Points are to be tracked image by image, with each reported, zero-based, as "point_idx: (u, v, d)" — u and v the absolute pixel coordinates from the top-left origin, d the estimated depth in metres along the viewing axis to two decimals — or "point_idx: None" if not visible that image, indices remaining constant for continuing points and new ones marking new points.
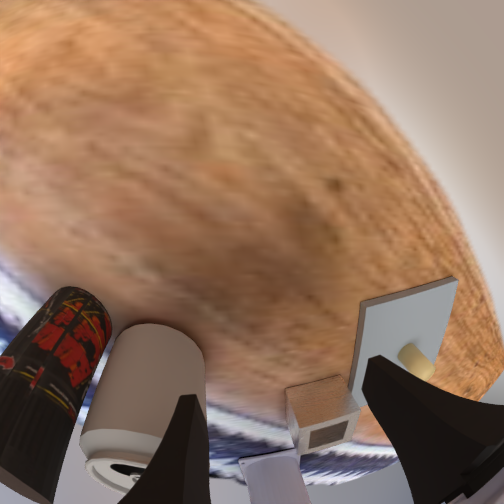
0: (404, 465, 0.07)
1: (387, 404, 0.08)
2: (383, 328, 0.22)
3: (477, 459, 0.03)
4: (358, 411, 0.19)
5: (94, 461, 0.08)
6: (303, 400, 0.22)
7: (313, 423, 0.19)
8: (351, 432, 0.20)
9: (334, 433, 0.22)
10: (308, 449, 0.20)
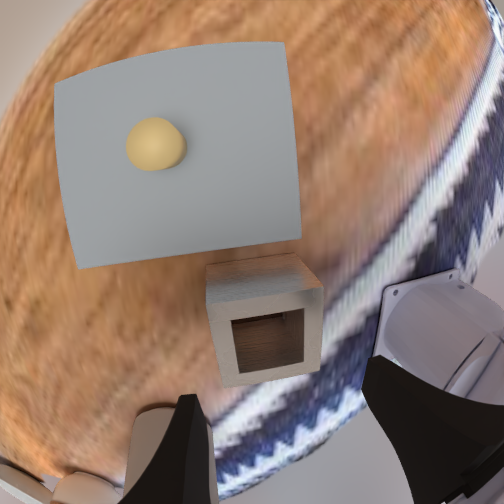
0: (405, 465, 0.07)
1: (387, 404, 0.08)
2: (107, 228, 0.14)
3: (477, 459, 0.03)
4: (209, 308, 0.12)
5: None
6: None
7: (220, 371, 0.14)
8: (287, 297, 0.13)
9: None
10: (303, 361, 0.14)
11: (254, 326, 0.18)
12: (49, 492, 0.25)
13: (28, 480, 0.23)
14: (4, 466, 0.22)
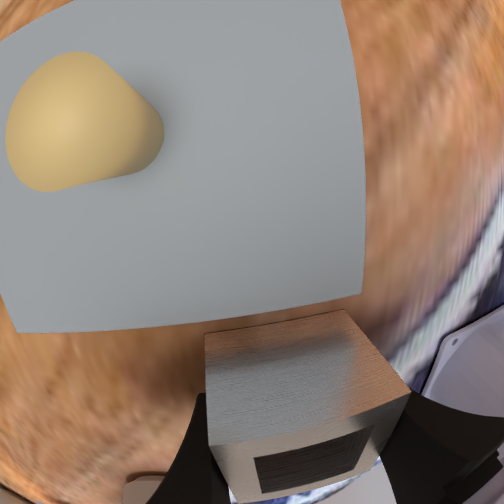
0: (389, 472, 0.07)
1: None
2: (41, 279, 0.07)
3: (459, 472, 0.03)
4: (215, 448, 0.05)
5: None
6: None
7: (233, 493, 0.07)
8: (354, 420, 0.06)
9: None
10: (353, 469, 0.07)
11: None
12: None
13: None
14: None
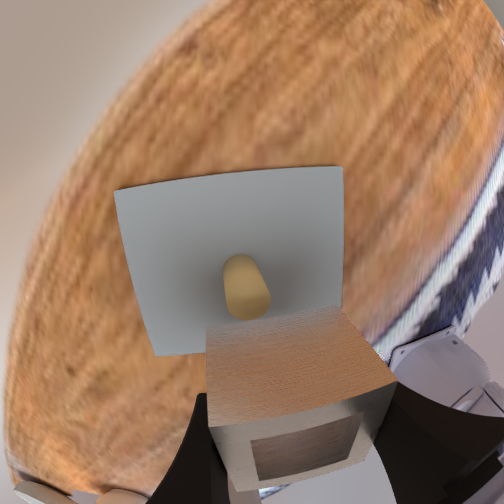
0: (389, 472, 0.07)
1: None
2: (184, 329, 0.18)
3: (459, 472, 0.03)
4: (214, 430, 0.06)
5: None
6: None
7: (231, 480, 0.08)
8: (344, 405, 0.07)
9: None
10: (347, 458, 0.08)
11: None
12: None
13: (57, 496, 0.27)
14: (32, 483, 0.25)
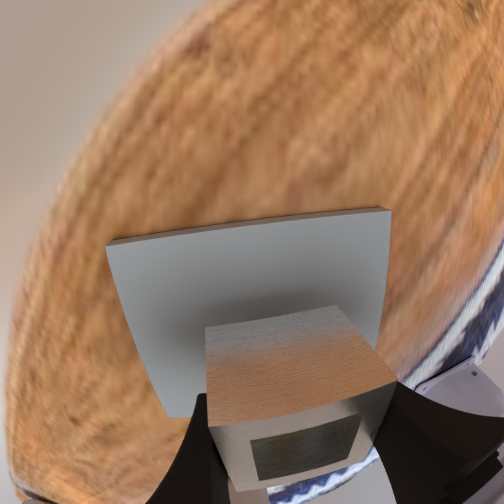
0: (389, 472, 0.07)
1: None
2: None
3: (459, 472, 0.03)
4: (214, 430, 0.06)
5: None
6: None
7: (231, 480, 0.08)
8: (343, 405, 0.07)
9: None
10: (346, 458, 0.08)
11: None
12: None
13: None
14: (38, 502, 0.22)
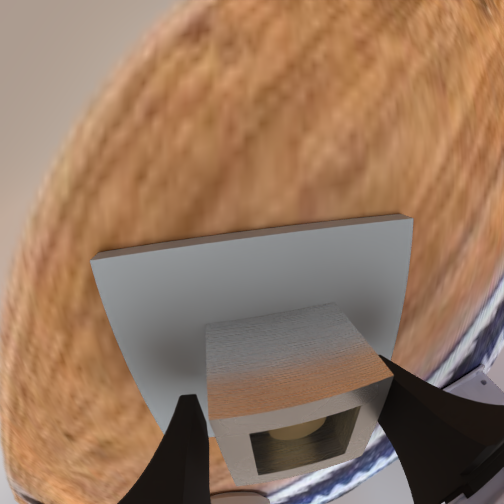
0: (404, 465, 0.07)
1: (387, 404, 0.08)
2: None
3: (477, 459, 0.03)
4: (214, 423, 0.06)
5: None
6: None
7: (231, 474, 0.08)
8: (340, 399, 0.07)
9: None
10: (344, 453, 0.08)
11: None
12: None
13: None
14: None
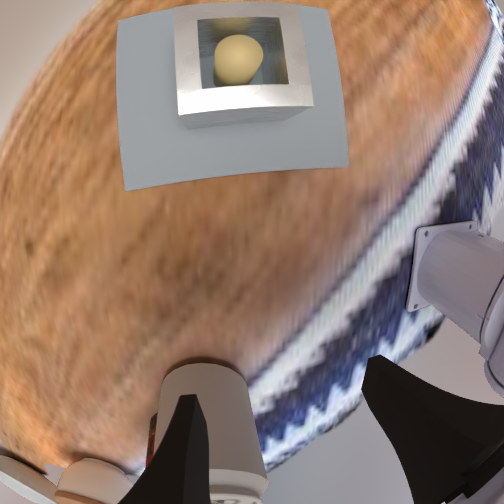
0: (405, 465, 0.07)
1: (387, 404, 0.08)
2: (165, 146, 0.14)
3: (477, 459, 0.03)
4: (176, 10, 0.08)
5: None
6: None
7: (177, 88, 0.09)
8: (259, 5, 0.08)
9: (275, 35, 0.10)
10: (288, 84, 0.10)
11: None
12: (52, 485, 0.26)
13: (30, 472, 0.23)
14: (4, 457, 0.22)
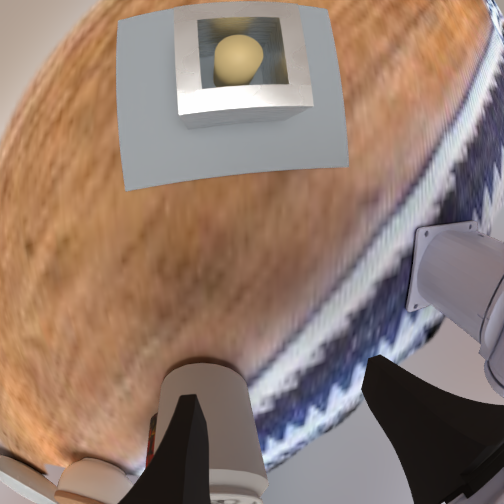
0: (405, 465, 0.07)
1: (387, 404, 0.08)
2: (165, 146, 0.14)
3: (477, 459, 0.03)
4: (176, 10, 0.08)
5: None
6: None
7: (177, 88, 0.09)
8: (259, 5, 0.08)
9: (275, 35, 0.10)
10: (288, 84, 0.10)
11: None
12: (52, 485, 0.26)
13: (30, 472, 0.23)
14: (4, 457, 0.22)
